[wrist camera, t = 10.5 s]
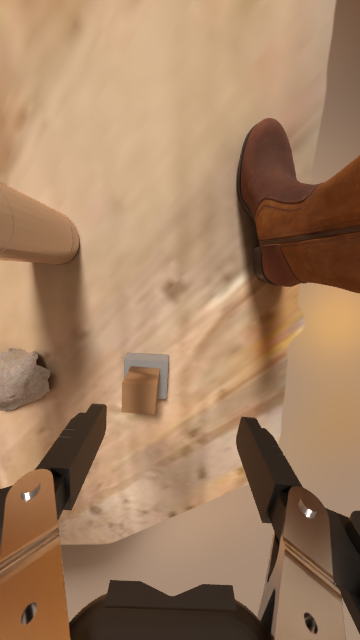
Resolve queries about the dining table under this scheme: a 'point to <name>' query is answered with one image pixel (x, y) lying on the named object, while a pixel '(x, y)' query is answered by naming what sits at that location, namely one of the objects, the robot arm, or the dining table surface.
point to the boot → (299, 215)
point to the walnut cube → (140, 390)
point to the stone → (21, 379)
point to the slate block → (150, 362)
